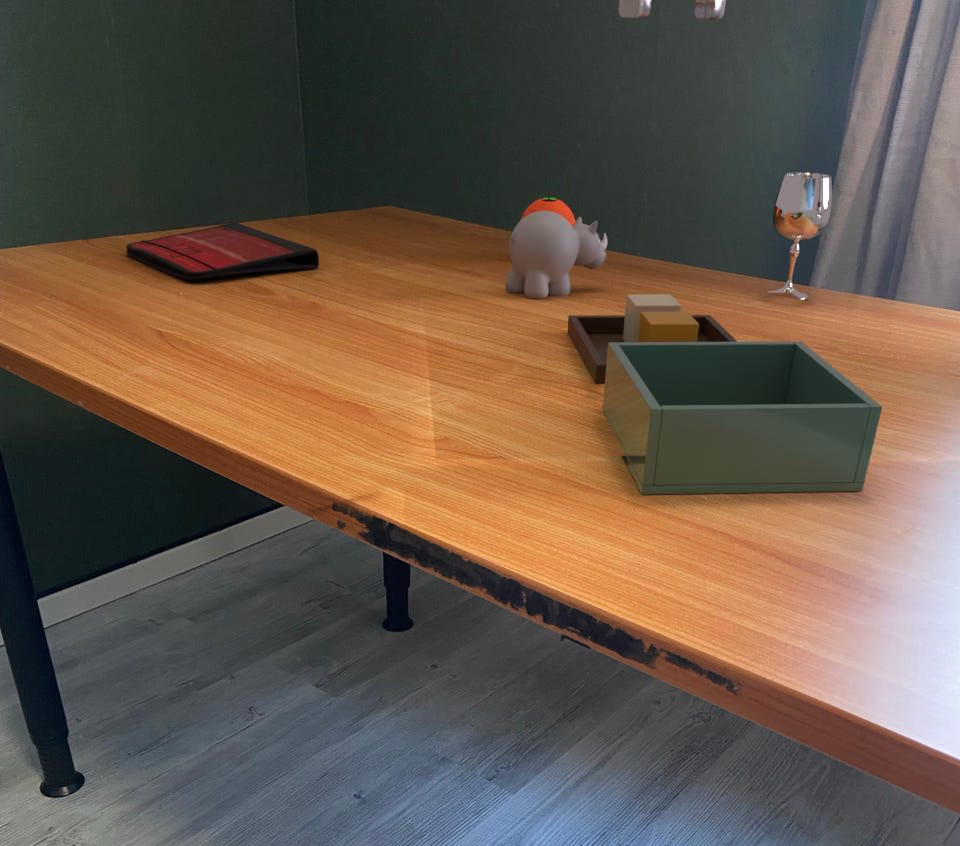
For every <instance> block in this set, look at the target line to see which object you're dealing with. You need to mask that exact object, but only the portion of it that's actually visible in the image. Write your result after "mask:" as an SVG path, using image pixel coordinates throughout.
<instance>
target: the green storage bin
mask: <svg viewBox="0 0 960 846" xmlns="http://www.w3.org/2000/svg"><path fill="white" fill-rule="evenodd" d="M882 409H883V406H882V405H881V404H880V403H878V402H877V401H876V400H874V398H872V397H871V396H869V394H867V393H866V392H865V391H864V390H862V389H861V388H860V387H858V386H857V385H856V384H855V383H853V382H852V381H851V380H850V379H848V378H847V377H846V376H845V375H844V374H842V373H841V372H840V371H839V370H838V369H836V368H835V366H833V365H831V364H830V363H829V362H828V361H826V359H824V358H823V357H821V356H820V355H819V354H818V353H817V352H815V351H814V350H813V349H812V348H810V347H809V346H808V345H806V344H805V342H803V341H801V340H798V341H797V340H795V341H787V340H786V341H782V340H781V341H738V342H619V343H617V342H609V343H608V351H607V363H606V375H605V384H604V388H603V400H602V412H603V414H604V416H605V418H606V419H607V422H608V424H609V425H610V427H611V429H612V431H613V433H614V435H615V436H616V439H617V441H618V442H619V445H620V446H621V448H622V451H623V452H624V454H625V455H622V457H621V458H622V459H623V460H624V463H625V465H626V467H627V468H628V471H629V473H630V474H631V476H632V478H633V480H634V481H635V484H636V486H637V489H638V490H639V492H640V494H641V495H645V496H646V495H647V496H648V495H698V494H699V495H702V494H704V495H705V494H707V495H708V494H759V493H764V494H765V493H766V494H767V493H817V492H818V493H821V492H822V493H823V492H825V493H826V492H829V493H830V492H862V491H863V490H864V485H865V482H866V477H867V473H868V469H869V465H870V461H871V456H872V452H873V447H874V444H875V439H876V435H877V431H878V426H879V422H880V418H881V414H882V411H883V410H882Z"/></svg>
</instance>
